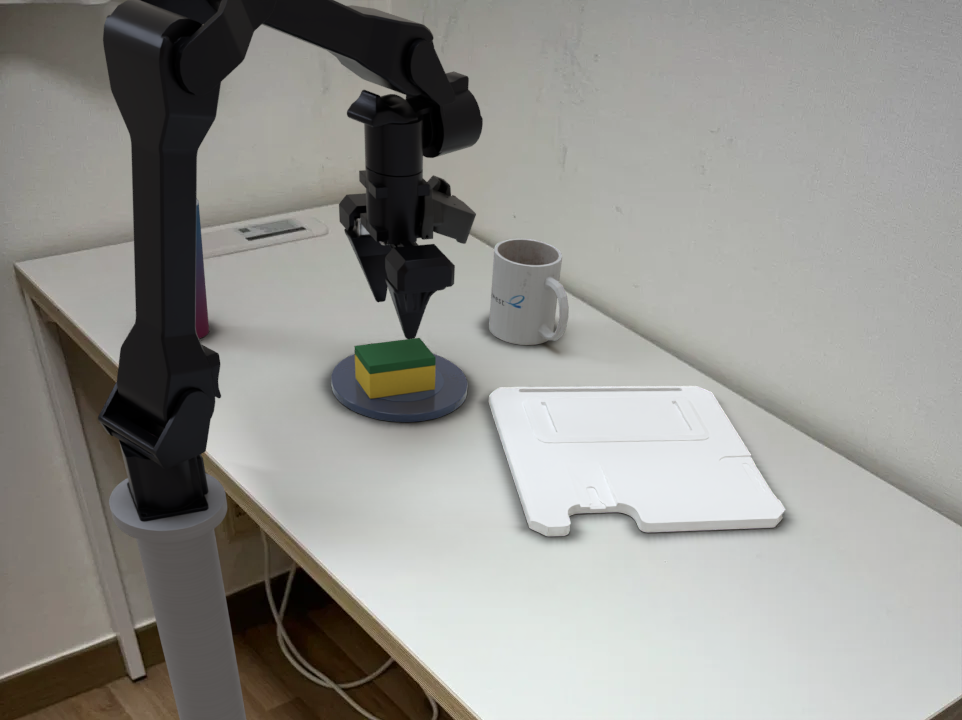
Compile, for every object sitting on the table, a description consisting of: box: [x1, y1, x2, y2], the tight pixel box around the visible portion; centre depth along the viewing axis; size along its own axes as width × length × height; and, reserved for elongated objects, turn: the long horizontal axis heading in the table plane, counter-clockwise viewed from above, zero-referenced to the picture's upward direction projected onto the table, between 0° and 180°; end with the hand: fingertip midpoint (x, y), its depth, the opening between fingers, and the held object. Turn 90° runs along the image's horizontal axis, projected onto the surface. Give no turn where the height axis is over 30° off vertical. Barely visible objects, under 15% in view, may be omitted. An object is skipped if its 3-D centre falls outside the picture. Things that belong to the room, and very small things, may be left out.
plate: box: [330, 352, 468, 423], centre depth 116 cm, size 16×16×1 cm
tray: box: [488, 385, 786, 537], centre depth 110 cm, size 28×28×2 cm
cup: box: [195, 198, 210, 339], centre depth 115 cm, size 7×7×15 cm
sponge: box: [353, 337, 436, 399], centre depth 113 cm, size 8×5×4 cm, turn 117°
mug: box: [488, 237, 570, 346], centre depth 125 cm, size 12×9×10 cm
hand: (395, 319), depth 109 cm, fingers open, 9 cm apart
